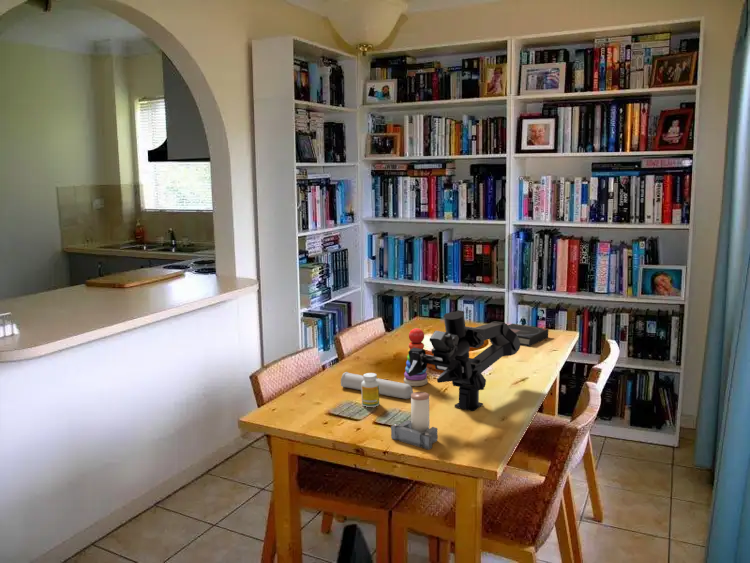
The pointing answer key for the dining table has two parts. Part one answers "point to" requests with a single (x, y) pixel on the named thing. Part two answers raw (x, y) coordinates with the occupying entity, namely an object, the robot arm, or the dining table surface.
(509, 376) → the dining table surface
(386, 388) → the tube
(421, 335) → the stacking toy
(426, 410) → the mushroom
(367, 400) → the supplement bottle
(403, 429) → the bracket
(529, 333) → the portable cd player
